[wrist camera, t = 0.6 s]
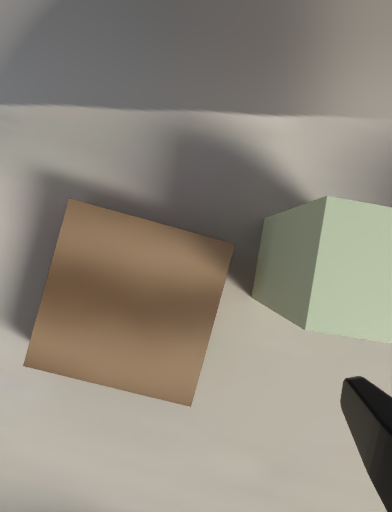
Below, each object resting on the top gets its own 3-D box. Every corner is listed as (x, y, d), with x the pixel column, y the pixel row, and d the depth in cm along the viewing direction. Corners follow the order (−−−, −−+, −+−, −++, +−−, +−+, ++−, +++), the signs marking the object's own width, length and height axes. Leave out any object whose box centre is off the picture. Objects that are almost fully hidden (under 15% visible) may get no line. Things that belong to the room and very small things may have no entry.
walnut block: (188, 384, 25) (190, 406, 21) (45, 348, 24) (23, 365, 20) (226, 244, 25) (235, 244, 21) (84, 205, 24) (68, 198, 20)
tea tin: (328, 309, 25) (433, 349, 15) (251, 297, 24) (305, 330, 14) (341, 231, 25) (455, 218, 15) (264, 217, 24) (327, 195, 14)
